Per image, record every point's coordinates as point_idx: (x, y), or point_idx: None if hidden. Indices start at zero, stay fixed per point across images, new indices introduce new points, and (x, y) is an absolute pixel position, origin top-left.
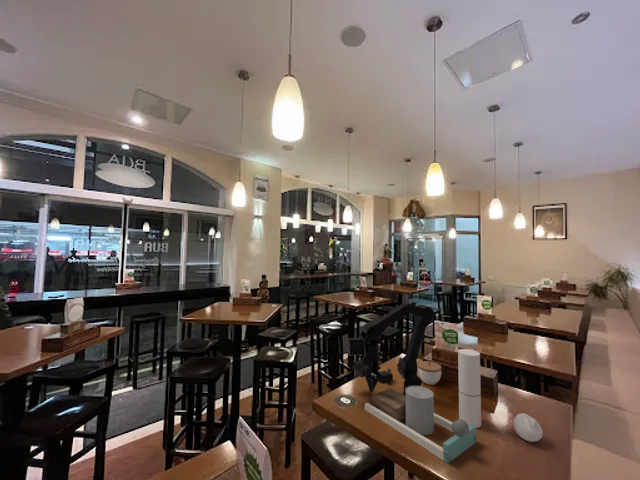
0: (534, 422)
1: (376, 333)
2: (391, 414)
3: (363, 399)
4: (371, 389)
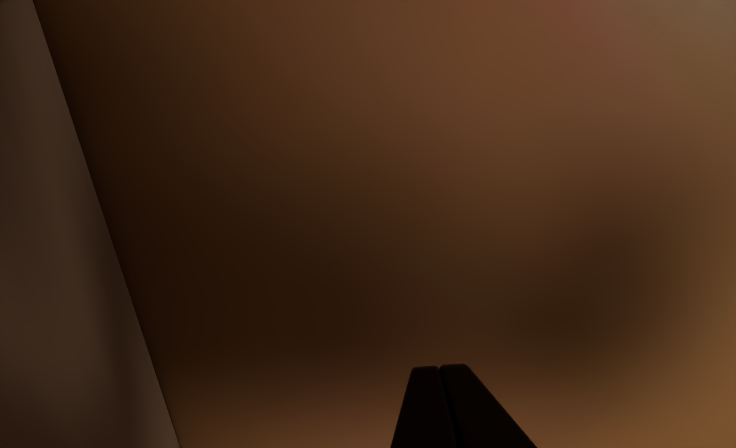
0: None
1: None
2: None
3: (523, 126)
4: (398, 433)
